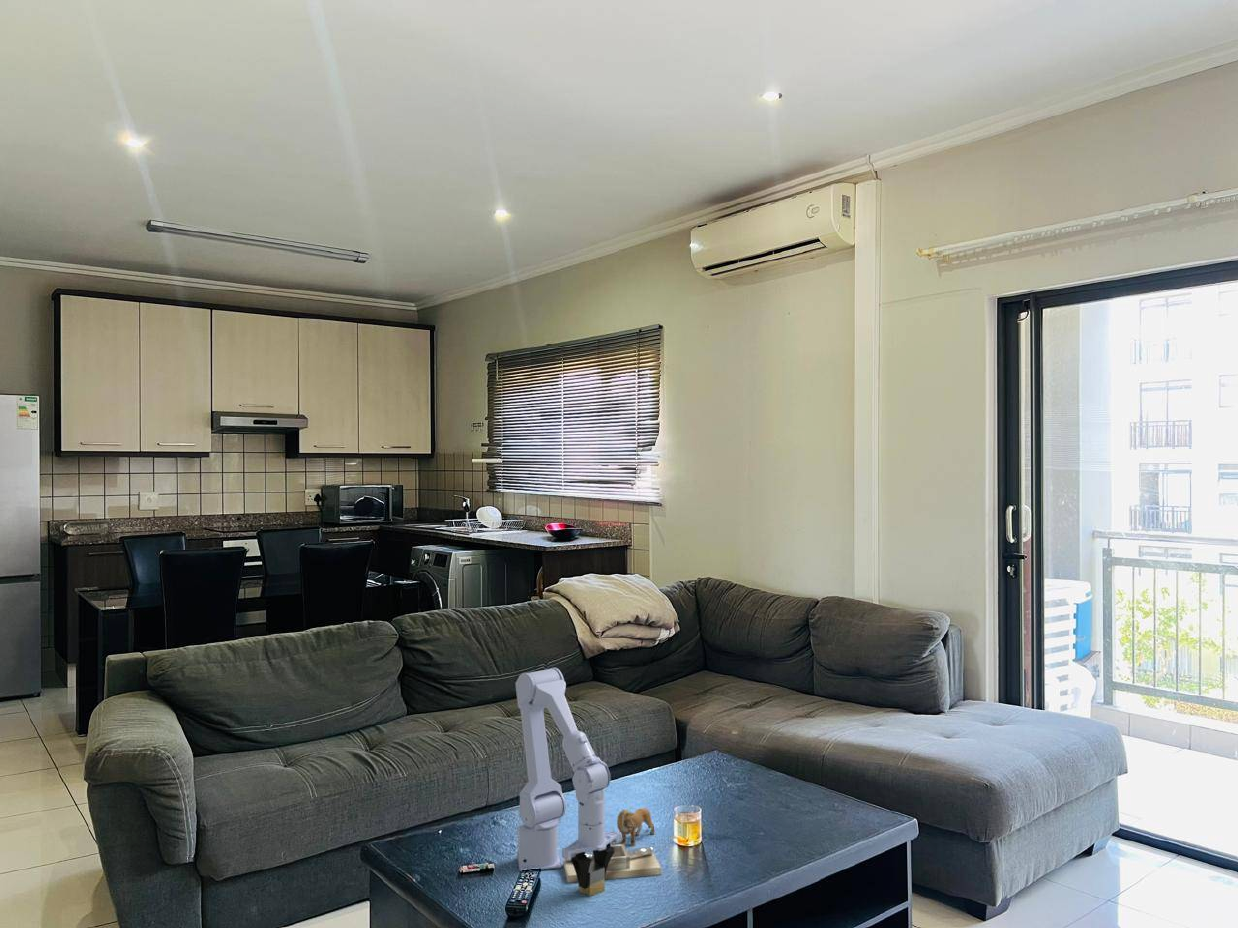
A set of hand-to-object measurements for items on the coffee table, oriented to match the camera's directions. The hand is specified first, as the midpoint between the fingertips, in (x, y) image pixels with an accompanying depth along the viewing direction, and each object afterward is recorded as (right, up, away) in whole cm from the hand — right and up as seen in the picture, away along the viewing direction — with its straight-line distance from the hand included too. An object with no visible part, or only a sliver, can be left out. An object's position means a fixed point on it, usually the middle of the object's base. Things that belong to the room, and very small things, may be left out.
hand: (591, 883), depth 189 cm
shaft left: (-3, 0, +11) cm, 11 cm away
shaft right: (+11, 0, +13) cm, 17 cm away
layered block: (0, -1, 0) cm, 1 cm away
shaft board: (+4, -2, +10) cm, 11 cm away
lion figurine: (+10, -2, +26) cm, 28 cm away
